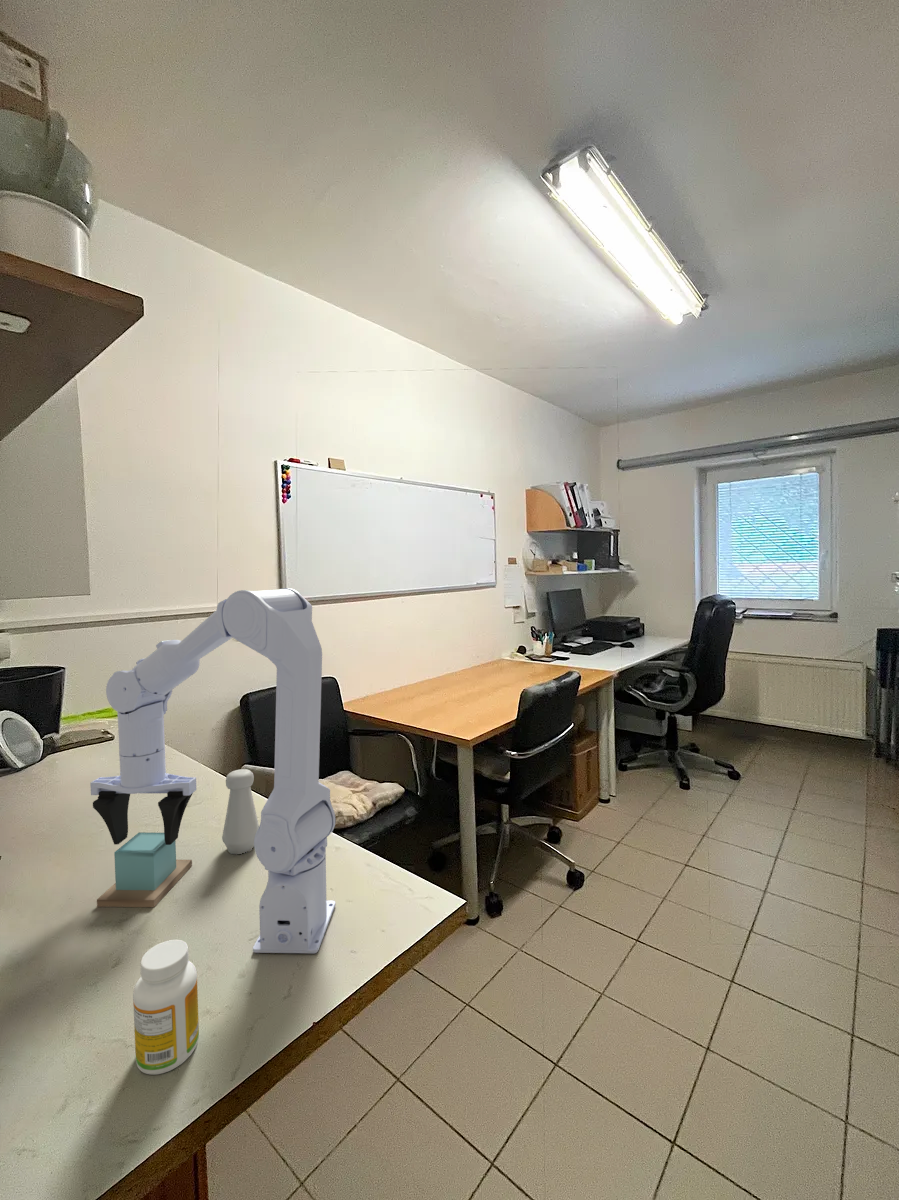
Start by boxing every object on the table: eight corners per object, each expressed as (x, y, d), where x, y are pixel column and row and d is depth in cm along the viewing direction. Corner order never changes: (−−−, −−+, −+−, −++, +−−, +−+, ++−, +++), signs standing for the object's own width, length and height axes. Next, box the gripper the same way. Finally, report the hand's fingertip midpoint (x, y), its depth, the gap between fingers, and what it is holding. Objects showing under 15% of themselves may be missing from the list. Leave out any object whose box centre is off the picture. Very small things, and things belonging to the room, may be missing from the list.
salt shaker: (246, 859, 83) (244, 780, 82) (214, 855, 84) (212, 777, 83) (266, 841, 89) (264, 766, 88) (236, 837, 90) (234, 764, 89)
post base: (154, 907, 71) (152, 868, 71) (97, 906, 71) (95, 867, 71) (191, 865, 81) (190, 831, 81) (141, 865, 81) (140, 831, 81)
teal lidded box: (154, 890, 73) (153, 852, 73) (115, 889, 73) (114, 852, 73) (176, 867, 79) (175, 832, 79) (140, 867, 79) (138, 832, 79)
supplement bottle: (182, 1016, 54) (179, 926, 53) (209, 1044, 51) (207, 949, 50) (125, 1055, 49) (121, 958, 49) (151, 1089, 46) (147, 985, 46)
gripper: (205, 741, 79) (208, 827, 80) (112, 741, 79) (115, 827, 80) (180, 757, 72) (183, 852, 73) (78, 757, 72) (82, 852, 73)
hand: (146, 841), depth 76 cm, fingers open, 7 cm apart
